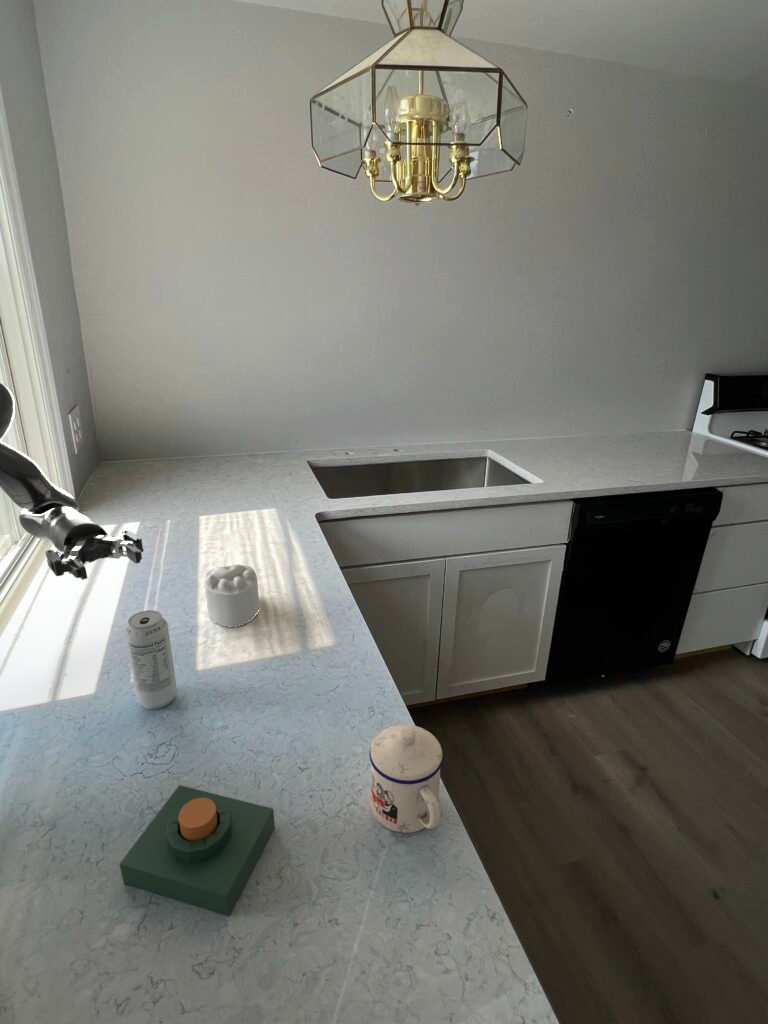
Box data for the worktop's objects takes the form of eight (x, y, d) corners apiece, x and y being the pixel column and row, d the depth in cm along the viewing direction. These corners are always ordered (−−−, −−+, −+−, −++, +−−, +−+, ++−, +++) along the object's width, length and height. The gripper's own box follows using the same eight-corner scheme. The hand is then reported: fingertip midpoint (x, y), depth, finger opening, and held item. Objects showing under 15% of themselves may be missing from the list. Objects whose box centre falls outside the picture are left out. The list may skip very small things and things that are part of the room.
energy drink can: (180, 685, 93) (169, 607, 88) (174, 709, 88) (162, 627, 82) (142, 688, 92) (129, 609, 87) (133, 713, 87) (118, 631, 81)
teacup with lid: (357, 791, 73) (357, 720, 69) (417, 767, 77) (420, 699, 73) (400, 869, 63) (403, 792, 59) (466, 837, 67) (473, 763, 63)
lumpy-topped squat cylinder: (255, 592, 123) (252, 557, 120) (263, 622, 112) (260, 584, 109) (206, 600, 120) (202, 563, 117) (209, 631, 108) (205, 592, 105)
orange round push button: (173, 836, 62) (171, 823, 61) (193, 807, 65) (191, 794, 65) (205, 845, 61) (203, 831, 60) (224, 815, 65) (222, 801, 64)
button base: (123, 884, 61) (116, 851, 60) (182, 803, 71) (177, 773, 70) (229, 917, 58) (225, 883, 57) (275, 827, 68) (272, 797, 66)
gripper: (28, 527, 95) (59, 557, 84) (114, 508, 104) (152, 532, 94) (38, 567, 97) (68, 601, 87) (121, 544, 107) (158, 572, 96)
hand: (112, 565), depth 90 cm, fingers open, 8 cm apart
